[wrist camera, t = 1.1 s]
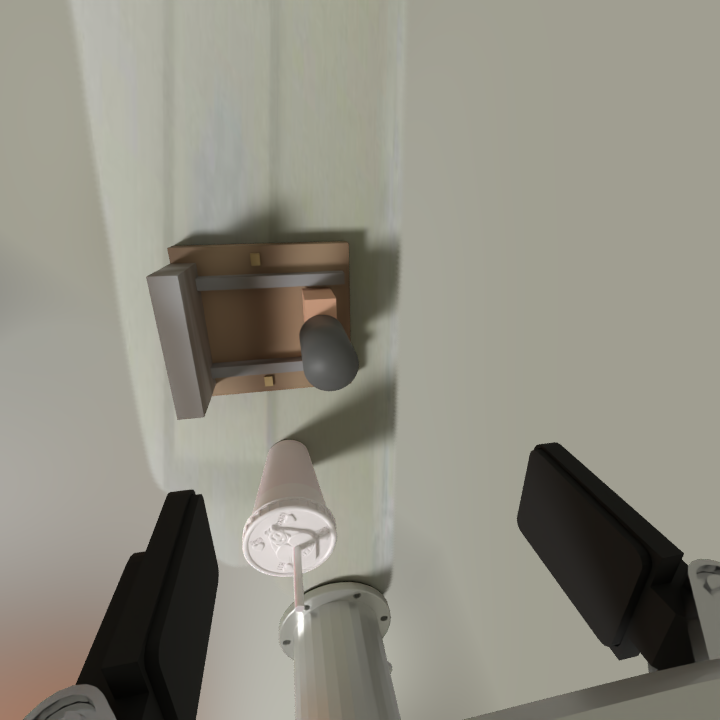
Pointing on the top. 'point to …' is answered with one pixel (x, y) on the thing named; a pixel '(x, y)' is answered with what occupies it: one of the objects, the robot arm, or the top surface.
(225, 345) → the vise base
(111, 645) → the robot arm
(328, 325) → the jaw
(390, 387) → the top surface
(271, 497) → the smoothie
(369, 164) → the top surface
